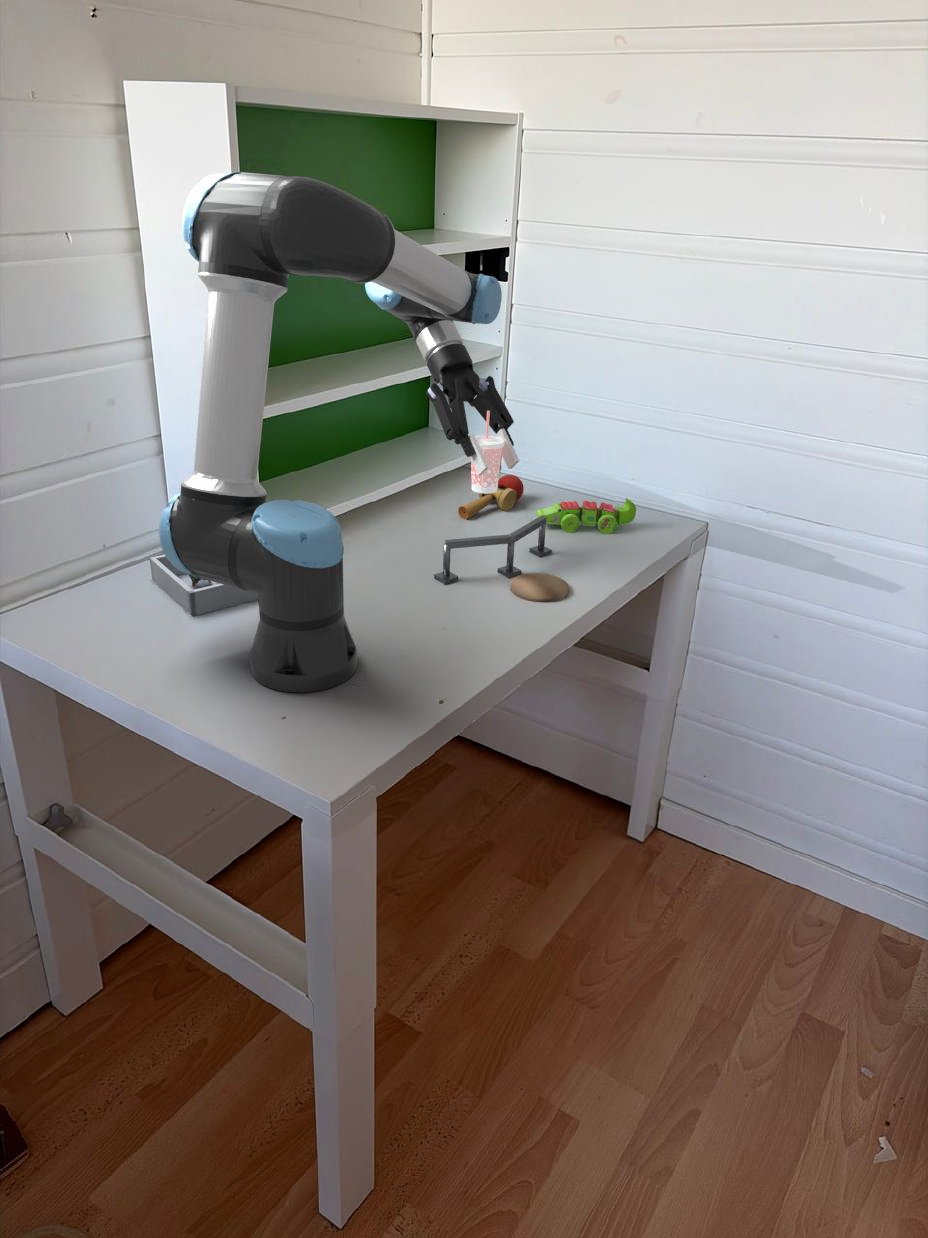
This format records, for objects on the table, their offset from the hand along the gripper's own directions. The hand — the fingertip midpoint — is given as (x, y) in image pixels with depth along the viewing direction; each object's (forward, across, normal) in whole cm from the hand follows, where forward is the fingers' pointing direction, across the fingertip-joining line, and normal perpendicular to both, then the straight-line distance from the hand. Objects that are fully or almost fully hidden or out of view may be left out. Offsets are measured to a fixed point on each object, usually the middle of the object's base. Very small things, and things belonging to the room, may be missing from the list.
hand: (499, 467), depth 162 cm
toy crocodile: (+10, -28, -16) cm, 34 cm away
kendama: (-3, -18, -30) cm, 35 cm away
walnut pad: (+22, 0, -4) cm, 22 cm away
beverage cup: (+1, 0, -6) cm, 6 cm away
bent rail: (+15, 0, -11) cm, 18 cm away
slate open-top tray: (0, +46, -26) cm, 53 cm away
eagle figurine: (0, +45, -26) cm, 52 cm away
